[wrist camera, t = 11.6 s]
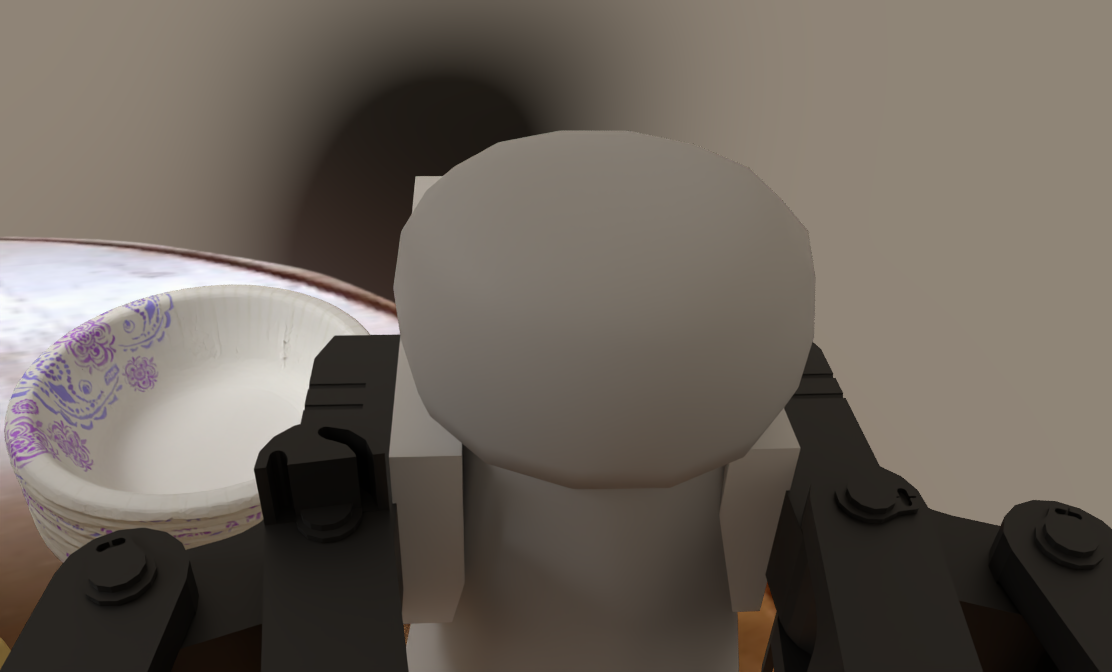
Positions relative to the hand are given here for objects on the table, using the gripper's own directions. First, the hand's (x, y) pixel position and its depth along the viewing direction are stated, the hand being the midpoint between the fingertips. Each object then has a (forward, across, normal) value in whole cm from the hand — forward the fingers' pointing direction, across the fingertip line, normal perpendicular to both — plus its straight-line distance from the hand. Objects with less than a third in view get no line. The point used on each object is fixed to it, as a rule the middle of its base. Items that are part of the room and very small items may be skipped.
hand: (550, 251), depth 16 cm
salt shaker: (-5, 0, -9) cm, 11 cm away
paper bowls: (+19, -13, -25) cm, 34 cm away
